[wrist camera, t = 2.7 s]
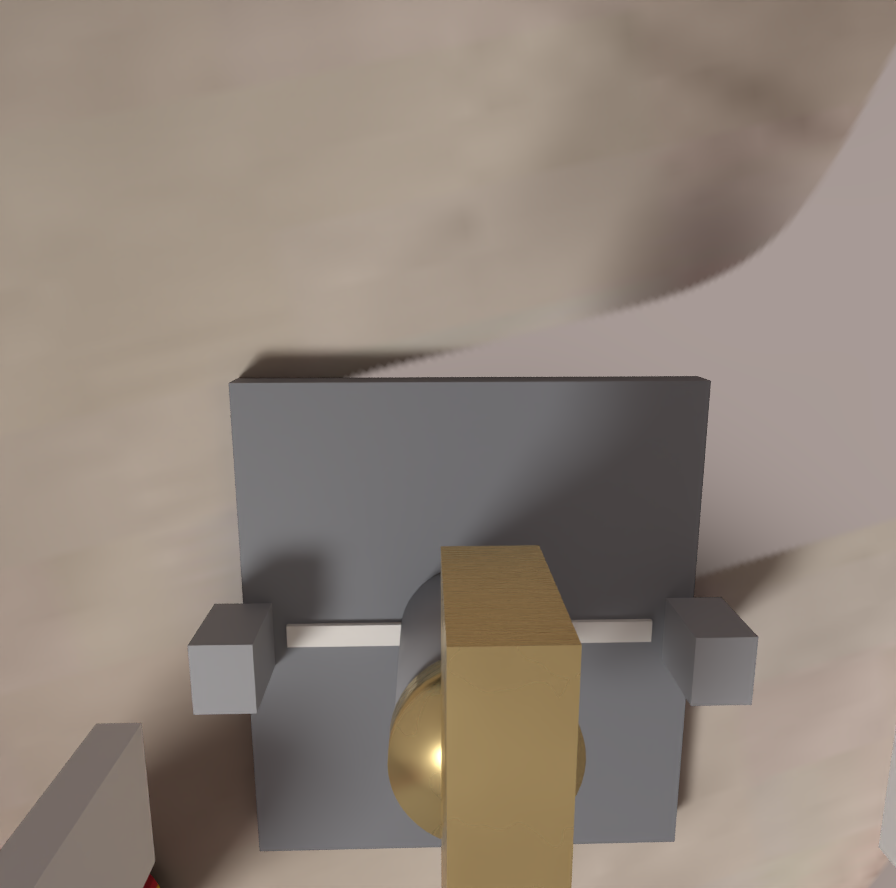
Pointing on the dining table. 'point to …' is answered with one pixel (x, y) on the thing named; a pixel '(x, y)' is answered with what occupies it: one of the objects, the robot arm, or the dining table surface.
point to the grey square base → (419, 582)
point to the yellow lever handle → (495, 725)
